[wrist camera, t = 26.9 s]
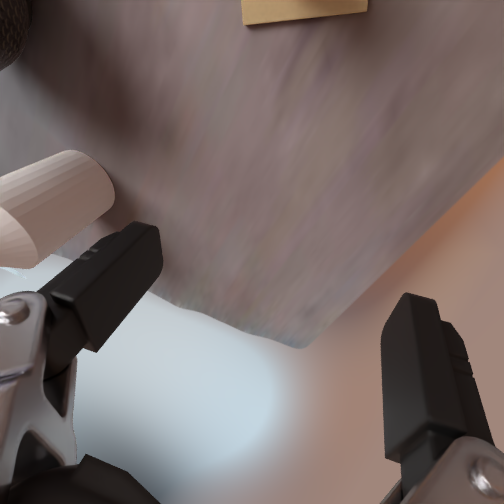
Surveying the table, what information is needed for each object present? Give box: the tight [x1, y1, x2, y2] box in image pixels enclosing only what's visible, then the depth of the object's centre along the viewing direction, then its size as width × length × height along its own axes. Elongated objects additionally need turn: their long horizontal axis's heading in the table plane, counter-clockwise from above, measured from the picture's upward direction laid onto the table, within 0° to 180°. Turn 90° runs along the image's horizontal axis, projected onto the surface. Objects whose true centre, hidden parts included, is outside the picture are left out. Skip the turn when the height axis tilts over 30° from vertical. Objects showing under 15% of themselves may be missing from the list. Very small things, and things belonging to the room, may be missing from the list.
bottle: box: [0, 150, 115, 269], centre depth 42 cm, size 12×12×25 cm
